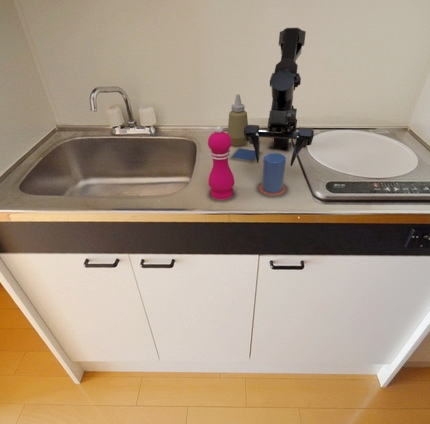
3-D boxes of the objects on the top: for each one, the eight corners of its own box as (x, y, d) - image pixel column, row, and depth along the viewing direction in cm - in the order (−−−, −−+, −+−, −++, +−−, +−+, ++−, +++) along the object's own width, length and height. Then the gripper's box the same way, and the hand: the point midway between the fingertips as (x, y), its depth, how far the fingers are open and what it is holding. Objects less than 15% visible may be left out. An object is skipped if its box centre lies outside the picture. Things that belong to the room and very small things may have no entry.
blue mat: (239, 149, 105) (239, 148, 104) (259, 152, 102) (259, 151, 102) (231, 158, 99) (231, 156, 99) (252, 161, 96) (252, 160, 96)
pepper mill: (232, 202, 77) (230, 132, 65) (206, 200, 79) (200, 131, 67) (236, 188, 83) (236, 121, 71) (212, 186, 84) (208, 120, 72)
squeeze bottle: (223, 144, 109) (221, 95, 98) (236, 137, 114) (236, 90, 103) (239, 149, 105) (240, 99, 94) (252, 142, 109) (254, 93, 99)
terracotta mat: (263, 180, 86) (263, 179, 86) (288, 185, 84) (288, 183, 84) (255, 193, 81) (255, 191, 81) (281, 198, 78) (281, 197, 78)
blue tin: (265, 180, 85) (267, 151, 80) (284, 184, 83) (288, 154, 77) (259, 190, 81) (260, 160, 75) (279, 195, 79) (282, 164, 73)
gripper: (245, 94, 74) (236, 151, 72) (319, 96, 70) (312, 156, 68) (249, 115, 85) (242, 165, 83) (313, 118, 81) (308, 170, 79)
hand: (274, 164), depth 78 cm, fingers open, 9 cm apart
